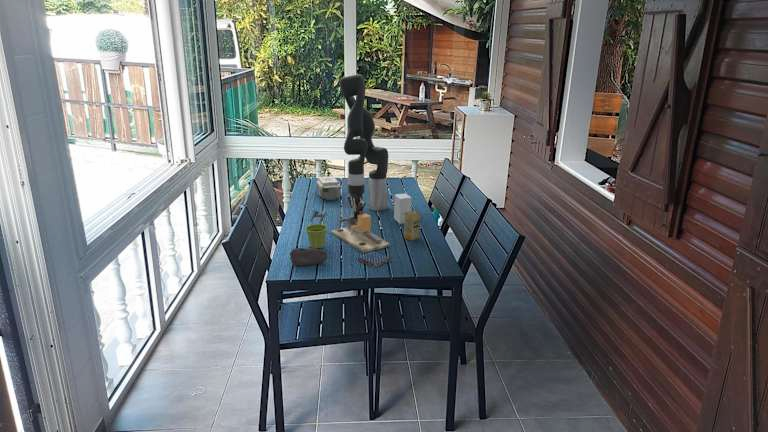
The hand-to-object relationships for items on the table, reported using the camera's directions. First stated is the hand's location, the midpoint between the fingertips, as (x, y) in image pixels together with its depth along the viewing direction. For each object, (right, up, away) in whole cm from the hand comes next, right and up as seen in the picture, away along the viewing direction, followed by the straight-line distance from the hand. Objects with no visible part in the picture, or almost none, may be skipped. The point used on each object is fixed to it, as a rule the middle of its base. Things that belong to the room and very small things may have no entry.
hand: (356, 218), depth 237 cm
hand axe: (-3, 0, +23) cm, 23 cm away
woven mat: (+9, -18, -27) cm, 33 cm away
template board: (+2, -9, -5) cm, 11 cm away
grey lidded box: (-19, +13, +59) cm, 63 cm away
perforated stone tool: (-17, -18, -31) cm, 40 cm away
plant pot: (-16, -12, -13) cm, 25 cm away
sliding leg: (+2, -7, -5) cm, 8 cm away
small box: (+22, -1, +19) cm, 29 cm away
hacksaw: (-19, -1, +19) cm, 27 cm away
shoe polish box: (+25, -9, -3) cm, 27 cm away
